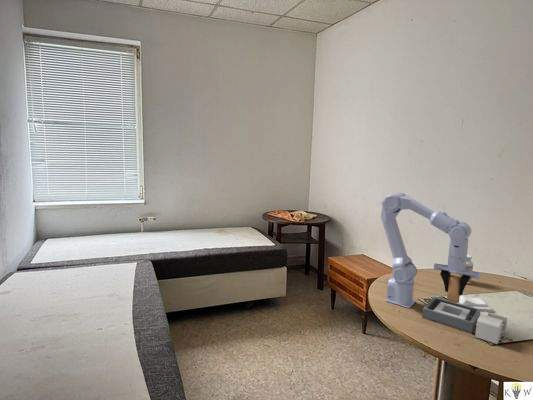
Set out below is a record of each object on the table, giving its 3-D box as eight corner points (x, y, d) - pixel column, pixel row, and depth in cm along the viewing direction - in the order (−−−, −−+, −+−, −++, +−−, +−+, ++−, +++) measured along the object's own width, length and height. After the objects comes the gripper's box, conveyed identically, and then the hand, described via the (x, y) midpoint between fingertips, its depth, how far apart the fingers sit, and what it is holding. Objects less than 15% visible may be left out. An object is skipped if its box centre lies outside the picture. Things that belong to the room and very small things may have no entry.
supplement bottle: (451, 279, 165) (454, 253, 163) (462, 278, 167) (465, 252, 165) (463, 285, 159) (466, 258, 157) (474, 283, 161) (477, 257, 159)
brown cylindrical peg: (445, 300, 126) (447, 276, 124) (448, 297, 129) (450, 274, 127) (457, 303, 123) (460, 279, 122) (460, 300, 126) (462, 276, 125)
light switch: (449, 291, 145) (483, 292, 142) (449, 300, 145) (482, 301, 143) (458, 302, 134) (495, 303, 132) (458, 312, 135) (494, 314, 132)
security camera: (483, 309, 120) (477, 319, 113) (507, 316, 115) (502, 327, 108) (481, 326, 121) (474, 337, 114) (505, 334, 116) (500, 346, 109)
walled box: (422, 317, 127) (423, 308, 126) (433, 305, 137) (434, 296, 137) (471, 333, 116) (473, 323, 116) (479, 318, 127) (480, 309, 126)
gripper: (432, 254, 125) (429, 290, 127) (478, 264, 116) (474, 302, 118) (438, 250, 130) (434, 285, 132) (482, 259, 121) (478, 296, 123)
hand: (453, 292), depth 125 cm, fingers closed on brown cylindrical peg, 4 cm apart
